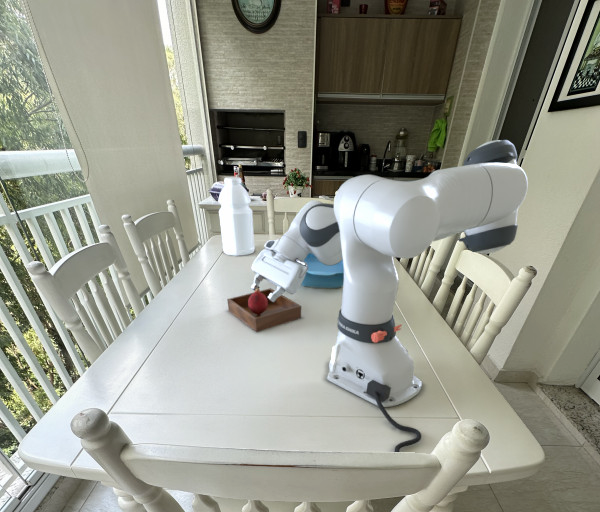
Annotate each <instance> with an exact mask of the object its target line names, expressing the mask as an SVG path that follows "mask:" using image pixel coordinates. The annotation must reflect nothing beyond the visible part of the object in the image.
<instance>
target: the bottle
mask: <svg viewBox="0 0 600 512" xmlns="http://www.w3.org/2000/svg"><path fill="white" fill-rule="evenodd" d="M223 180H224V181H223V182H224V184H225V185H224V186H223V187H222V189H221V190H220V192H219V196H218V199H217V201H218V203H219V204H220V206H221V207H220V208H219V210H218V215H219V223H220V224H219V225H220V233H221V243H222V250H223V253H224V254H226V255H228V256H237V257H238V256H239V257H240V256H247V255H251V254H254V252H255V248H256V246H255V234H254V233H255V231H254V216H253V214H254V213H253V209H252V208H251V207H250V204H251V202H252V199H251V197H250V194H249V192H248V191H247V189H246V188H245V187H244V186H243V185H242V183H243V180H242V177H240V176H226V177H224V179H223Z"/></svg>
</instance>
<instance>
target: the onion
mask: <svg viewBox="0 0 600 512" xmlns="http://www.w3.org/2000/svg"><path fill="white" fill-rule="evenodd" d="M260 291H261V290H260V288H259V289H256V290H255V291H254V292H252V293H253V294H251V296H250V297H249V300H248V306H249V309H250V310H251V311H252V312H253V313H255V314H257V315H260V314H262V313H263V312H264V311H265V310H266V309H267V307H268V301H267V298H266V296H265V295H264V294H263V293H261V292H260Z"/></svg>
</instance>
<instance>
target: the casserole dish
mask: <svg viewBox="0 0 600 512" xmlns="http://www.w3.org/2000/svg"><path fill="white" fill-rule="evenodd" d="M303 262H306V263H307V264H308V271H307V272H306V274H305V277H304V280H303V282H302V283H301V285H300V286H301V287H305V288H306V287H307V288H316V289H317V288H318V289H340V288H343V283H344V267H343V260H342V261H341V262H339V263H337V264H335V265H331V266H328V265H324V264H323V263H321V262H320V261H319V260H318V259H317V258H316V257H315V256H314V255H313V254H311V253H309V254H308V255H307V257H306V258H305V260H304V261H303Z"/></svg>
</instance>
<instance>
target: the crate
mask: <svg viewBox="0 0 600 512" xmlns="http://www.w3.org/2000/svg"><path fill="white" fill-rule="evenodd" d="M275 291H276V289H273V288H271V287H269V288H266V289H262V290H260V292H261V293H263V294H264V295H265V296H266V298H267V301H268V307H267V309H266V310H265V311H264V312H263V313H262V314H260V315H257V314H255V313H253V312H252V311H251V310H250V309H249V306H248V300H249V297H250V296H251V294H253V293H254V292H250V293H246V294H241V295H238V296H234V297H230V298H227V299H226V300H227V308H228V309H227V310H228V312H229V313H230V314H232V316H234V317H236V318H237V319H238V320H240V321H241V322H242V323H243V324H245V325H246V326H248V327H249V328H250V329H251V330H253V331H254V332H255V333H258V332H262V331H264V330H268V329H270V328H274V327H277V326H281V325H284V324H286V323H289V322H293V321H296V320H299V319H301V318H302V305H301V304H299V303H297V302H296V301H294V300H292V299H291V298H289V297H287V296H285V295H284V294H283V295H281V296H279V297H278V298H277V299H276V300H275V302H272V301H270V300H269V299H268V296H269V294H270V293H273V292H275Z"/></svg>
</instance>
